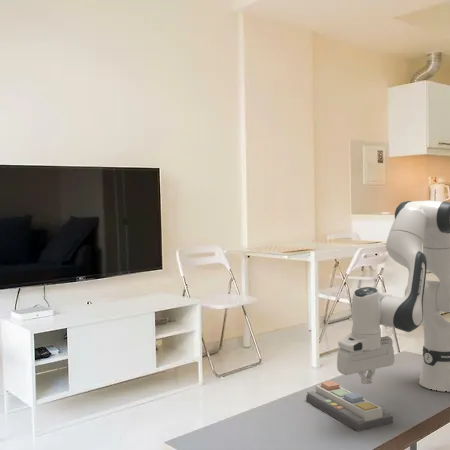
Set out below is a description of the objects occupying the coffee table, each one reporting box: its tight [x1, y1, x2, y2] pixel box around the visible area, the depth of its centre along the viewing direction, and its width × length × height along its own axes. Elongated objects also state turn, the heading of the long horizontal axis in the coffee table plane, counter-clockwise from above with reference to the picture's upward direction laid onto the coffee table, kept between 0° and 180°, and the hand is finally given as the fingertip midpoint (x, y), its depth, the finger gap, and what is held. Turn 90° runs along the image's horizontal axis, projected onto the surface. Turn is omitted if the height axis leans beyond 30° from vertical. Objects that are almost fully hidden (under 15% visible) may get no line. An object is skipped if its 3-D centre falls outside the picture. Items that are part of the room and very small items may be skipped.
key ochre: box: [356, 402, 376, 411], centre depth 170 cm, size 4×4×2 cm
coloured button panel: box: [305, 384, 394, 432], centre depth 178 cm, size 14×27×5 cm, turn 26°
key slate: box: [344, 391, 364, 404], centre depth 175 cm, size 4×4×2 cm
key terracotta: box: [320, 380, 340, 391], centre depth 186 cm, size 4×4×2 cm
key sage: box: [332, 390, 348, 397], centre depth 181 cm, size 4×4×2 cm
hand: (366, 383), depth 170 cm, fingers closed
